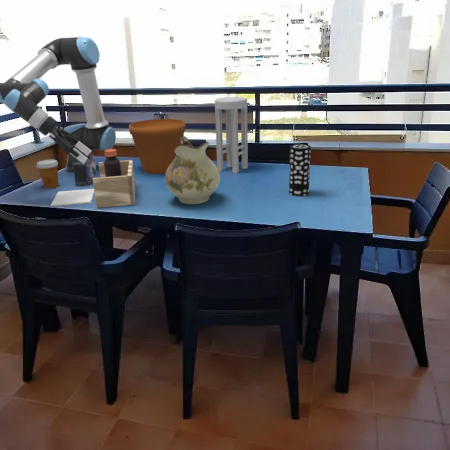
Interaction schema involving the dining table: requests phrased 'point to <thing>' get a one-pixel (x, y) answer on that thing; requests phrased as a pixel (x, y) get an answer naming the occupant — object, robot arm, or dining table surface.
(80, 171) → the small box
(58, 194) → the mat
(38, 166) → the disposable coffee cup
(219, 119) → the stool
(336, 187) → the dining table surface
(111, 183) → the crate
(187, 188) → the pitcher
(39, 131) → the robot arm
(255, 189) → the dining table surface
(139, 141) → the flowerpot
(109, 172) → the vinegar
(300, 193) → the white-spotted black cylinder
